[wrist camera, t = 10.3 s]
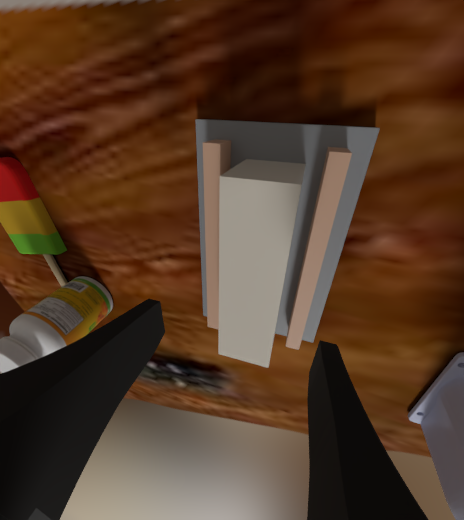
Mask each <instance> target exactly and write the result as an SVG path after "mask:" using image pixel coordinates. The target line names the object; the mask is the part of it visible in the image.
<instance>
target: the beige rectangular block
mask: <svg viewBox="0 0 464 520" xmlns="http://www.w3.org/2000/svg"><path fill="white" fill-rule="evenodd" d="M305 165H306V164H300V163H288V162H276V161H265V160H253V159H246V160H244V161H243V162H241V163H239V164H238V165H236V166H235V167H233V168H232V169H230V170H229V171H227V172H225V173H224V174H222V175H221V176H220V190H219V354H221V355H224V356H228V357H231V358H235V359H239V360H242V361H246V362H249V363H253V364H256V365H260V366H264V367H267V368H268V367H269V362H270V356H271V351H272V346H273V340H274V335H275V330H276V324H277V319H278V314H279V308H280V303H281V297H282V292H283V286H284V281H285V275H286V270H287V264H288V259H289V253H290V248H291V242H292V237H293V231H294V226H295V220H296V215H297V209H298V204H299V198H300V193H301V187H302V182H303V176H304V171H305Z"/></svg>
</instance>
